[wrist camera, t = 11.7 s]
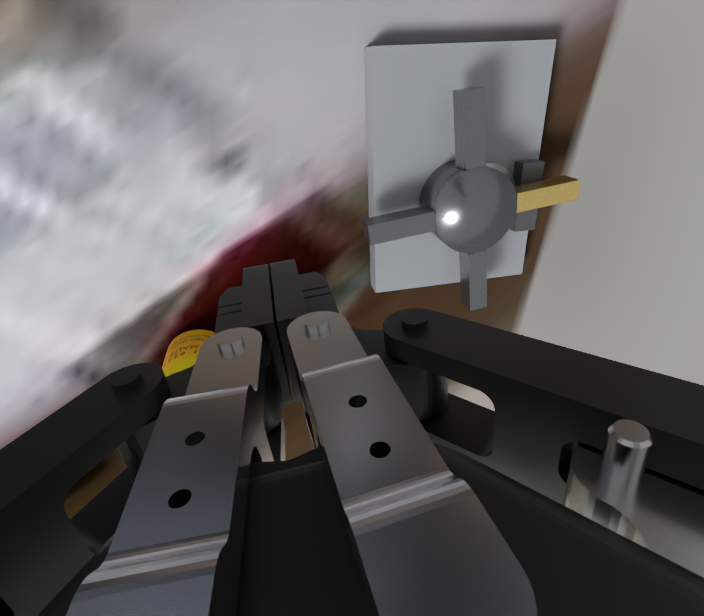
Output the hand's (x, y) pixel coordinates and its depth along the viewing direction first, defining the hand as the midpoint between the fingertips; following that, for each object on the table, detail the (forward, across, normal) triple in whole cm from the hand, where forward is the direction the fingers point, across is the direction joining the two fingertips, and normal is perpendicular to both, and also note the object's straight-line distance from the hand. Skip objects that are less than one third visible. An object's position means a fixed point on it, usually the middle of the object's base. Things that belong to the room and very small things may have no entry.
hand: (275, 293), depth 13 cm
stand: (+26, -16, +4) cm, 31 cm away
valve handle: (+24, -16, +6) cm, 30 cm away
